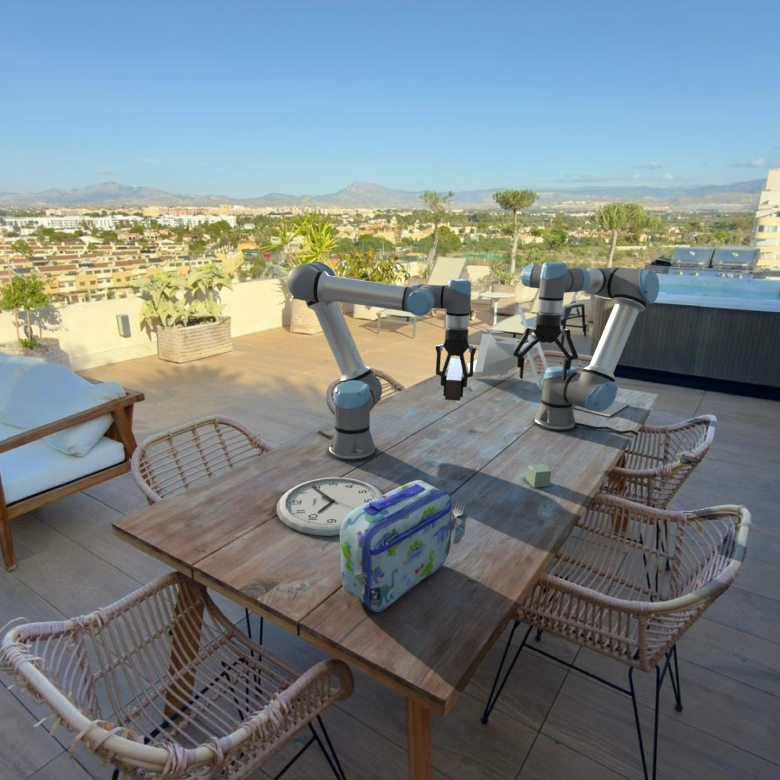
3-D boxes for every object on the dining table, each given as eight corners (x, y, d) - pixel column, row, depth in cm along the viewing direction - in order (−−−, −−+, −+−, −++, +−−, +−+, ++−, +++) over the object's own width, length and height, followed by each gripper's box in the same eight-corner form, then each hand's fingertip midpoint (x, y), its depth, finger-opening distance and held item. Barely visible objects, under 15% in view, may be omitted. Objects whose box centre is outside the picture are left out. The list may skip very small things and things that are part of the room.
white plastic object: (488, 419, 265) (468, 396, 240) (469, 347, 287) (449, 319, 262) (559, 395, 253) (546, 369, 228) (534, 321, 275) (519, 290, 250)
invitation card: (608, 416, 214) (573, 407, 224) (608, 416, 214) (573, 408, 224) (628, 404, 229) (594, 396, 238) (628, 405, 229) (594, 397, 238)
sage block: (541, 478, 160) (542, 463, 159) (549, 486, 156) (551, 470, 154) (526, 480, 159) (527, 465, 158) (534, 487, 155) (535, 472, 153)
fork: (441, 537, 129) (441, 530, 128) (456, 506, 143) (456, 499, 142) (451, 539, 128) (452, 532, 127) (465, 508, 142) (466, 501, 142)
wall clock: (392, 527, 129) (268, 531, 127) (391, 533, 130) (269, 537, 127) (383, 473, 158) (282, 475, 155) (383, 478, 158) (282, 480, 156)
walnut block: (449, 375, 203) (450, 358, 200) (462, 376, 202) (463, 358, 200) (445, 399, 174) (446, 379, 172) (460, 400, 174) (461, 380, 171)
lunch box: (369, 626, 100) (370, 530, 93) (334, 598, 107) (332, 507, 101) (455, 567, 117) (460, 483, 111) (419, 547, 124) (423, 467, 118)
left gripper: (485, 326, 173) (480, 393, 180) (430, 324, 175) (427, 390, 182) (485, 331, 166) (480, 400, 173) (428, 328, 168) (425, 397, 175)
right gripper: (587, 312, 166) (579, 376, 172) (507, 309, 169) (502, 373, 175) (593, 316, 159) (584, 383, 165) (509, 313, 162) (504, 379, 168)
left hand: (453, 395), depth 177 cm, fingers closed on walnut block, 5 cm apart
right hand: (542, 378), depth 170 cm, fingers open, 13 cm apart
